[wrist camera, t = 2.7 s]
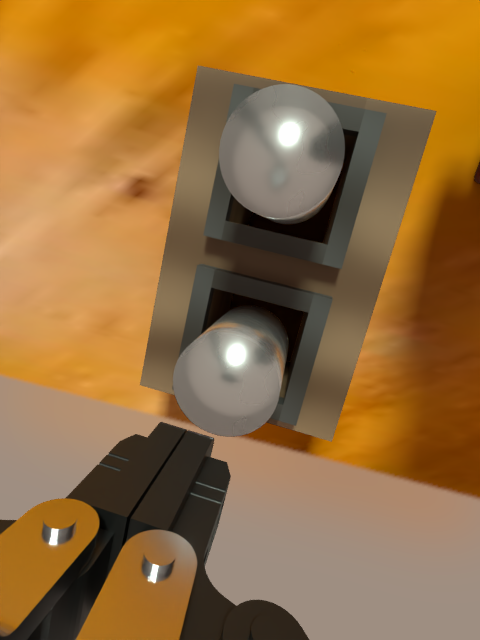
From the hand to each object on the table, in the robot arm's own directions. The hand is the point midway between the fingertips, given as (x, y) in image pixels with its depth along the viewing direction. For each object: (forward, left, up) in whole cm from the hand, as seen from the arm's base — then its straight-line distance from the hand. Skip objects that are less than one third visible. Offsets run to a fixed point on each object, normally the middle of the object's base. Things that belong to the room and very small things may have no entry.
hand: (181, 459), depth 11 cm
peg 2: (0, 0, -12) cm, 12 cm away
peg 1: (-9, 0, -12) cm, 15 cm away
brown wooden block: (-5, 0, -20) cm, 20 cm away
